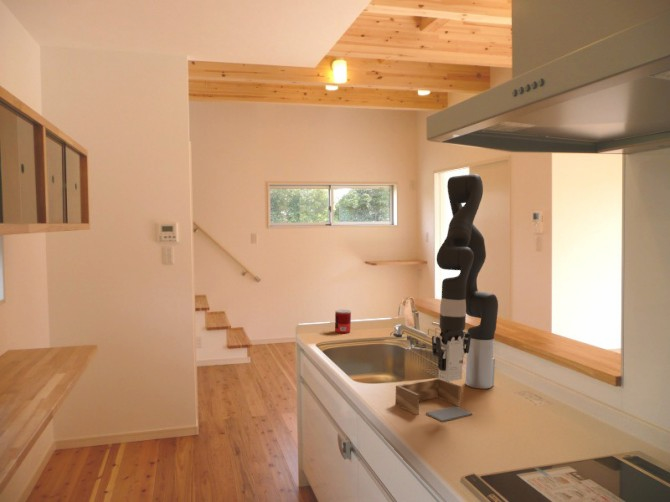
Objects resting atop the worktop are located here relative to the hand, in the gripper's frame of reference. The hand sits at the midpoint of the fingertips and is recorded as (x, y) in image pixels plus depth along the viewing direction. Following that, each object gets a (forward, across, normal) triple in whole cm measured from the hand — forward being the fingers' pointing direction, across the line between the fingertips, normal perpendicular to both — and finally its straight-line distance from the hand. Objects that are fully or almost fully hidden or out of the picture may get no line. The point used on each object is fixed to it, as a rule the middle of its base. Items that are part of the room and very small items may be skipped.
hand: (450, 368), depth 160 cm
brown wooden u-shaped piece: (+14, 0, -9) cm, 17 cm away
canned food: (+14, -33, -112) cm, 117 cm away
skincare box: (+3, 0, 0) cm, 3 cm away
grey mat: (+14, 0, 0) cm, 14 cm away
